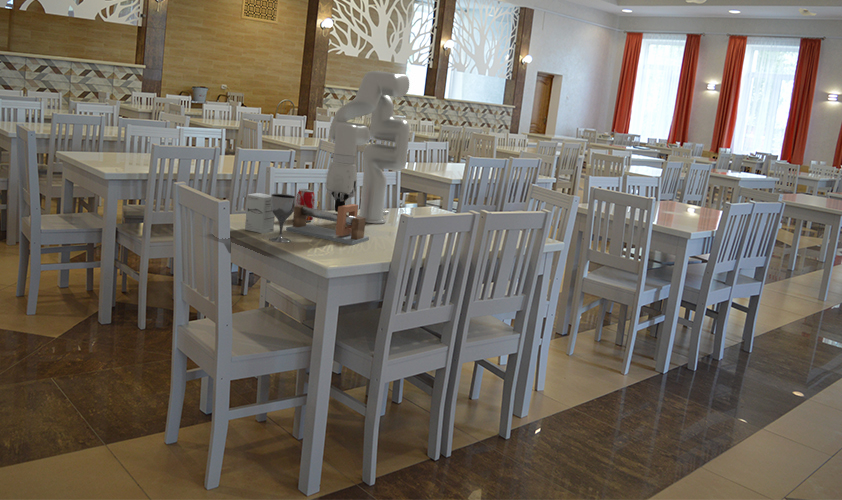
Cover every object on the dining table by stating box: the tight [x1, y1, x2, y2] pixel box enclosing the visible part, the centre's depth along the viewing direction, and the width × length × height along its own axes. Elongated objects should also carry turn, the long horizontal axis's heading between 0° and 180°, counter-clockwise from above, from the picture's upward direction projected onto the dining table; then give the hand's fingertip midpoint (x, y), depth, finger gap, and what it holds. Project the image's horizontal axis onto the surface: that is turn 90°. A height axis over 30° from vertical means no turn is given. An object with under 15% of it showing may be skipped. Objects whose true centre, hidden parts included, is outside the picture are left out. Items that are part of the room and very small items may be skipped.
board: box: [285, 223, 370, 246], centre depth 239 cm, size 27×12×1 cm, turn 67°
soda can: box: [295, 188, 316, 223], centre depth 260 cm, size 7×7×12 cm
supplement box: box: [244, 192, 275, 235], centre depth 233 cm, size 7×7×13 cm
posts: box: [292, 205, 366, 240], centre depth 239 cm, size 26×5×8 cm, turn 67°
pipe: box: [301, 207, 355, 225], centre depth 238 cm, size 24×4×4 cm, turn 67°
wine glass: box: [268, 193, 297, 244], centre depth 222 cm, size 8×8×15 cm
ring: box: [335, 203, 359, 236], centre depth 235 cm, size 2×10×10 cm, turn 157°
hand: (339, 211), depth 236 cm, fingers closed
